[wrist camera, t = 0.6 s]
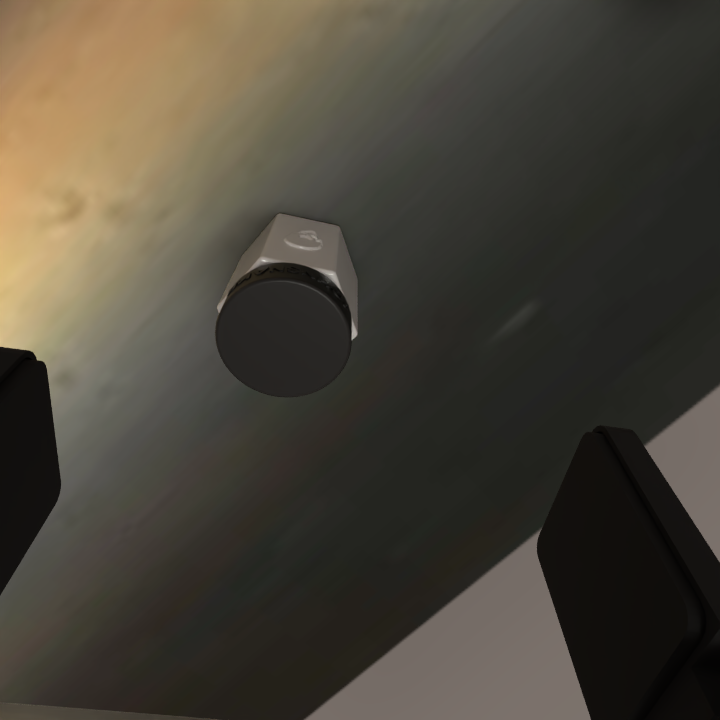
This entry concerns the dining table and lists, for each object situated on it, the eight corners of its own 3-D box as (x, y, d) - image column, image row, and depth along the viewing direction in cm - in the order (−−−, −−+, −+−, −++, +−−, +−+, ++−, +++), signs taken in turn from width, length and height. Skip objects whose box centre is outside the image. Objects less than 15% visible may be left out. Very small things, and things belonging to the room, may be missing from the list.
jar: (369, 228, 44) (372, 294, 34) (346, 325, 48) (343, 410, 38) (248, 202, 43) (213, 262, 33) (235, 303, 47) (201, 384, 37)
